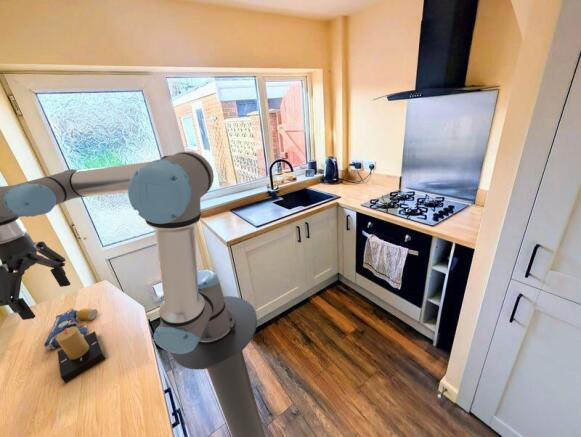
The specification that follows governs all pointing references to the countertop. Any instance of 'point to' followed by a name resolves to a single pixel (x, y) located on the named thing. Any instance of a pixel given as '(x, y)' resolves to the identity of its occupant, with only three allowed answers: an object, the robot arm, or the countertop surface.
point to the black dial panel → (81, 359)
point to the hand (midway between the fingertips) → (49, 300)
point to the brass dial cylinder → (72, 342)
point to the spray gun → (68, 324)
